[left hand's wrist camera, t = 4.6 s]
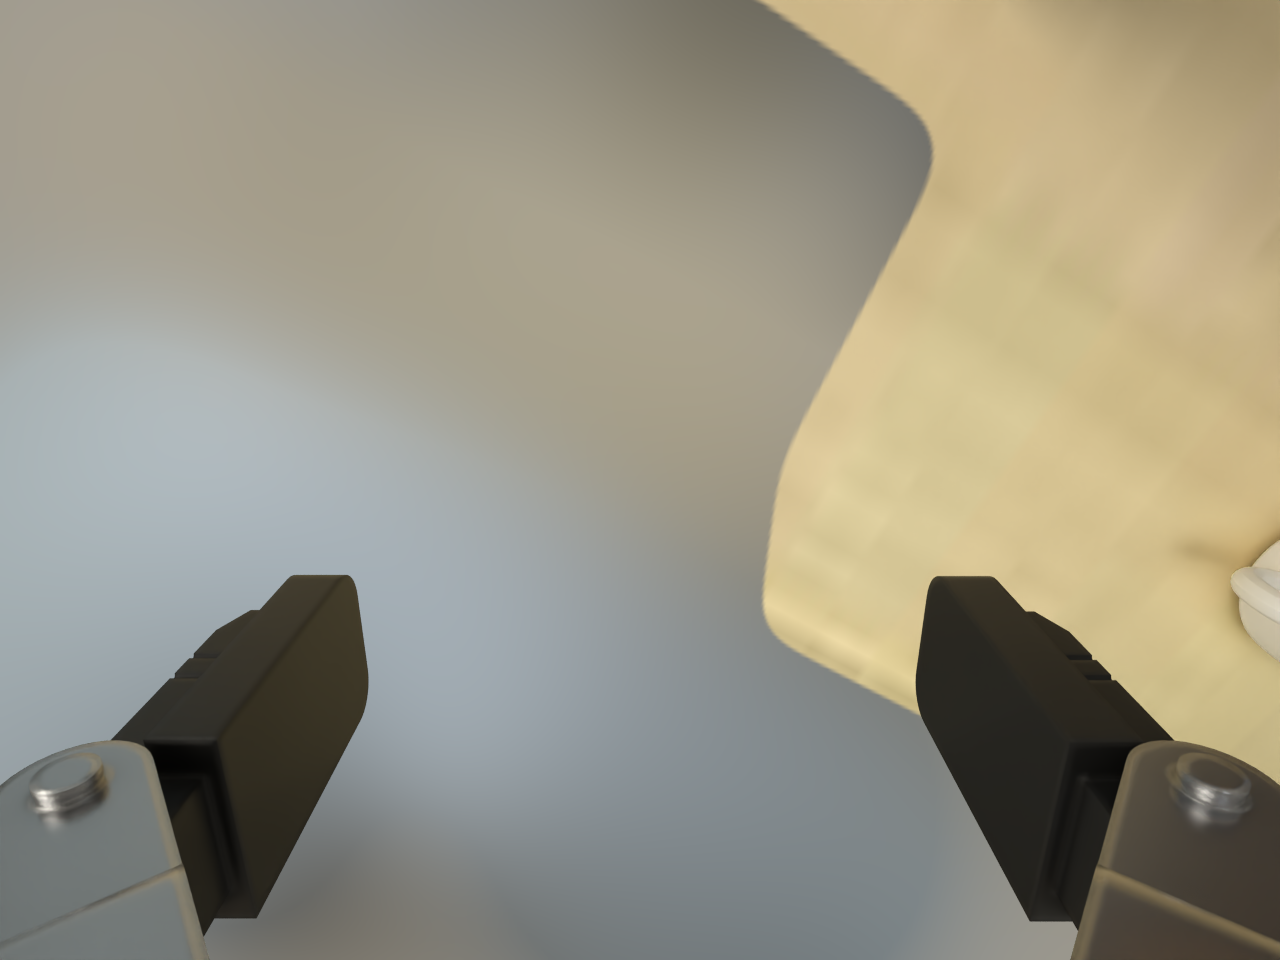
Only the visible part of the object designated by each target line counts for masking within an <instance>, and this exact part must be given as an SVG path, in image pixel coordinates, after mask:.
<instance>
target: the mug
mask: <svg viewBox="0 0 1280 960" xmlns="http://www.w3.org/2000/svg"><path fill="white" fill-rule="evenodd" d="M1230 583H1231V587H1232V589H1233V591H1234V592H1235V593H1236V595H1237V596H1238V597H1239V612H1240V617H1241V620H1242V623H1243V625H1244V628H1245V630H1246V631H1247V633H1248V634H1249V636H1250V637H1251V638H1252V639H1253V640H1254V641H1255V642H1256V643H1257V644H1258V645H1259V646H1260V647H1261V648H1262V649H1263V650H1265V651H1266V652H1267V653H1268V654H1270V655H1271V656H1272V657H1274V658H1275V659H1276V660H1278V661H1279V662H1280V540H1278V541H1277V542H1276V543H1274V544H1273V545H1272V546H1270V547H1269V548H1268V549H1267V550H1266V551H1265V552H1264V553H1262V555H1261V556H1260V557H1259V558H1258V559H1257V560H1256V561H1255V563H1254V564H1253V565H1252V567H1243V568H1241V569H1238V570H1236V571H1235V572H1234V573H1233V574H1232V577H1231V580H1230Z"/></svg>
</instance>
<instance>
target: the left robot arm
mask: <svg viewBox="0 0 1280 960" xmlns="http://www.w3.org/2000/svg"><path fill="white" fill-rule="evenodd" d="M367 695H368V668H367V661H366V653H365V646H364V639H363V632H362V624H361V617H360V610H359V603H358V595H357V590H356V586H355V583H354V581H353V579H352V578H351V577H350V576H348V575H293V576H291V577H289V578H288V579H287V580H286V582H285V583H284V584H283V585H282V586H281V587H280V588H279V589H278V590H277V591H276V593H275V594H274V595H273V596H272V597H271V598H270V599H269V600H268V601H267V603H266V604H265V605H264V606H263V607H262V608H261V609H260V610H250V611H249V612H247V613H245V614H243V615H242V616H240V617H238V618H236V619H235V620H233V621H231V622H230V623H228V624H226V625H224V626H223V627H221V628H219V629H217V630H216V631H215V632H214V633H213V634H212V635H211V636H210V637H209V638H208V639H207V640H206V641H205V642H204V643H203V645H202V646H201V647H200V648H199V649H198V650H197V651H196V652H195V653H194V657H193V658H189V659H188V660H187V661H186V662H185V663H184V664H183V665H182V666H181V667H180V669H179V670H178V671H177V672H176V673H175V678H172V679H169V680H168V681H167V682H166V683H165V684H164V685H163V686H162V687H161V688H160V689H159V690H158V691H157V692H156V694H155V695H154V696H153V697H152V698H151V699H150V700H149V701H148V702H147V703H146V704H145V705H144V706H143V707H142V708H141V709H140V710H139V711H138V712H137V713H136V714H135V715H134V716H133V718H132V719H131V720H130V721H129V722H128V723H127V724H126V725H125V726H124V727H123V728H122V729H121V730H120V731H119V732H118V733H117V734H116V735H115V736H114V737H113V738H112V739H111V740H110V741H100V742H93V743H88V744H83V745H79V746H75V747H72V748H69V749H65V750H63V751H60V752H57V753H55V754H52V755H50V756H47V757H45V758H43V759H41V760H39V761H37V762H35V763H33V764H31V765H29V766H27V767H26V768H24V769H22V770H21V771H19V772H18V773H16V774H15V775H13V776H12V777H10V778H9V779H8V780H7V781H5V782H4V783H3V784H2V785H0V960H210V959H209V956H208V952H207V949H206V945H205V941H204V935H205V933H206V932H207V930H208V928H209V927H210V925H211V923H212V921H213V920H214V918H257V916H258V914H259V912H260V911H261V909H262V907H263V905H264V903H265V901H266V899H267V897H268V895H269V893H270V892H271V890H272V888H273V886H274V884H275V882H276V880H277V878H278V876H279V874H280V872H281V871H282V869H283V867H284V865H285V863H286V861H287V859H288V857H289V855H290V853H291V851H292V850H293V848H294V846H295V844H296V842H297V840H298V838H299V836H300V834H301V833H302V831H303V829H304V827H305V825H306V823H307V821H308V819H309V817H310V815H311V814H312V812H313V810H314V808H315V806H316V804H317V802H318V800H319V798H320V796H321V794H322V793H323V791H324V789H325V787H326V785H327V783H328V781H329V779H330V777H331V775H332V774H333V772H334V770H335V768H336V766H337V764H338V762H339V760H340V758H341V756H342V755H343V753H344V751H345V749H346V747H347V745H348V743H349V741H350V739H351V737H352V735H353V734H354V732H355V730H356V728H357V726H358V724H359V722H360V720H361V718H362V716H363V713H364V710H365V706H366V701H367ZM916 695H917V702H918V707H919V710H920V714H921V717H922V719H923V721H924V723H925V725H926V727H927V729H928V731H929V733H930V734H931V736H932V738H933V740H934V742H935V744H936V746H937V748H938V749H939V751H940V753H941V755H942V757H943V759H944V761H945V763H946V765H947V766H948V768H949V770H950V772H951V774H952V776H953V778H954V780H955V782H956V783H957V785H958V787H959V789H960V791H961V793H962V795H963V797H964V798H965V800H966V802H967V804H968V806H969V808H970V810H971V812H972V813H973V815H974V817H975V819H976V821H977V823H978V825H979V827H980V828H981V830H982V832H983V834H984V836H985V838H986V840H987V842H988V844H989V845H990V847H991V849H992V851H993V853H994V855H995V857H996V859H997V860H998V862H999V864H1000V866H1001V868H1002V870H1003V872H1004V874H1005V876H1006V877H1007V879H1008V881H1009V883H1010V885H1011V887H1012V889H1013V890H1014V892H1015V894H1016V896H1017V898H1018V900H1019V902H1020V904H1021V906H1022V907H1023V909H1024V911H1025V913H1026V915H1027V917H1028V919H1029V921H1073V923H1074V925H1075V926H1076V928H1077V930H1078V934H1077V938H1076V941H1075V945H1074V948H1073V952H1072V956H1071V959H1070V960H1280V785H1279V784H1277V783H1276V782H1275V781H1273V780H1272V779H1271V778H1270V777H1268V776H1267V775H1265V774H1264V773H1262V772H1261V771H1259V770H1258V769H1256V768H1254V767H1253V766H1251V765H1249V764H1247V763H1245V762H1243V761H1241V760H1239V759H1237V758H1235V757H1233V756H1230V755H1228V754H1225V753H1223V752H1220V751H1217V750H1215V749H1211V748H1208V747H1205V746H1201V745H1197V744H1192V743H1187V742H1180V741H1174V740H1173V739H1172V738H1171V737H1170V735H1169V734H1168V733H1167V732H1166V731H1165V730H1164V729H1163V728H1162V727H1161V726H1160V725H1159V724H1158V723H1157V722H1156V721H1155V720H1154V719H1153V718H1152V717H1151V716H1150V715H1149V714H1148V713H1147V712H1146V711H1145V710H1144V709H1143V708H1142V707H1141V706H1140V704H1139V703H1138V702H1137V701H1136V700H1135V699H1134V698H1133V697H1132V696H1131V695H1130V694H1129V693H1128V692H1127V691H1126V690H1125V689H1124V688H1123V687H1122V686H1121V685H1120V684H1119V683H1118V682H1117V681H1116V680H1112V679H1111V675H1110V673H1109V672H1108V671H1107V670H1106V669H1105V668H1104V667H1103V666H1102V665H1101V664H1100V663H1099V662H1098V661H1097V660H1092V655H1091V654H1090V653H1089V652H1088V651H1087V650H1086V649H1085V648H1084V647H1083V646H1082V645H1081V644H1080V642H1079V641H1078V640H1077V639H1076V638H1075V637H1074V636H1073V635H1072V634H1071V633H1070V632H1069V631H1067V630H1065V629H1064V628H1062V627H1060V626H1058V625H1057V624H1055V623H1053V622H1051V621H1050V620H1048V619H1046V618H1044V617H1043V616H1041V615H1039V614H1038V613H1036V612H1026V611H1025V610H1024V609H1023V608H1022V607H1021V606H1020V605H1019V604H1018V603H1017V602H1016V600H1015V599H1014V598H1013V597H1012V596H1011V595H1010V594H1009V593H1008V592H1007V591H1006V589H1005V588H1004V587H1003V586H1002V585H1001V584H1000V583H999V582H998V581H997V580H996V579H995V578H994V577H991V576H937V577H935V578H934V579H933V580H932V581H931V583H930V585H929V589H928V593H927V599H926V606H925V613H924V621H923V628H922V635H921V642H920V649H919V656H918V663H917V671H916Z"/></svg>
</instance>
